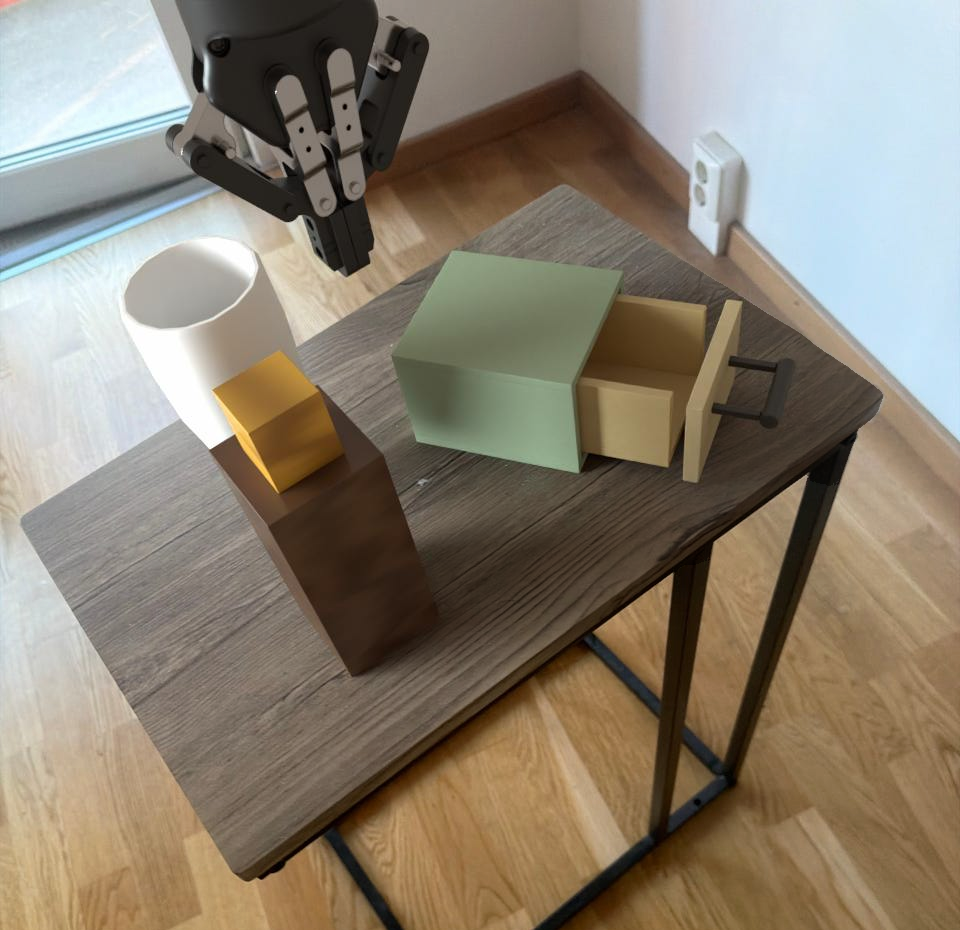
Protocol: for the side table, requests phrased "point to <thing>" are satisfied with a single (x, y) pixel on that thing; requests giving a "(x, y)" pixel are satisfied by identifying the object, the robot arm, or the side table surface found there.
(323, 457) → the block
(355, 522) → the stand
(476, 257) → the cabinet
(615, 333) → the drawer
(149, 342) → the cup
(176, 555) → the side table surface
